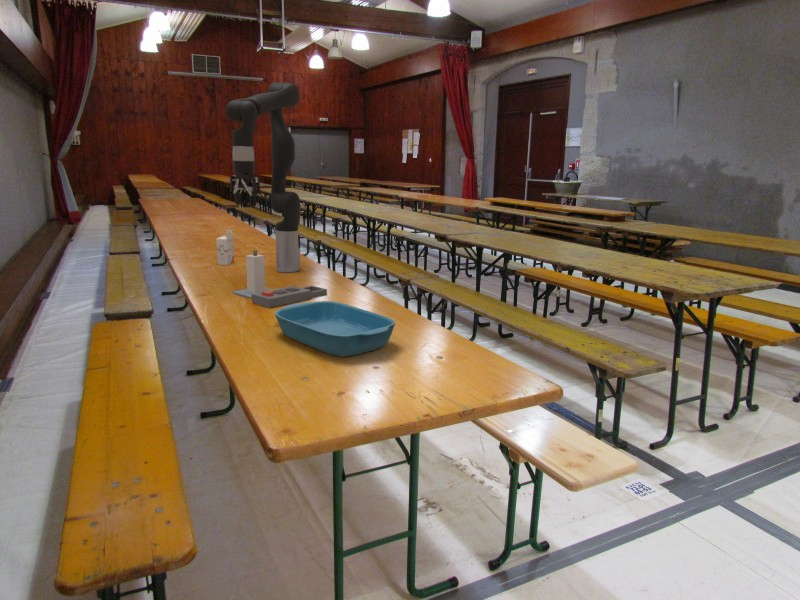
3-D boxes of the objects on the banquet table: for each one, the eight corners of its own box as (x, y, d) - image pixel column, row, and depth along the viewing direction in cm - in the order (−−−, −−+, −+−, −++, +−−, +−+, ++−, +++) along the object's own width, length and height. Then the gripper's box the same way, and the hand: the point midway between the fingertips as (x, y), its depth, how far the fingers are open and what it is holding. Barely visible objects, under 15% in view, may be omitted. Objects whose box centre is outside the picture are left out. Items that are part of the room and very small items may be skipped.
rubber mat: (260, 288, 209) (259, 286, 209) (281, 293, 202) (280, 292, 202) (232, 293, 200) (232, 291, 200) (253, 299, 193) (253, 297, 192)
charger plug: (257, 289, 204) (256, 248, 200) (265, 291, 201) (264, 250, 197) (247, 291, 200) (246, 249, 197) (255, 293, 198) (253, 251, 194)
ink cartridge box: (223, 261, 256) (221, 229, 252) (234, 261, 256) (233, 229, 252) (217, 265, 248) (215, 231, 244) (228, 265, 248) (226, 232, 244)
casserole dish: (261, 332, 159) (260, 307, 157) (324, 318, 175) (324, 295, 173) (345, 369, 134) (345, 340, 132) (410, 349, 150) (411, 323, 148)
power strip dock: (310, 290, 208) (310, 279, 207) (328, 294, 202) (328, 284, 201) (251, 302, 188) (251, 291, 187) (269, 308, 183) (269, 296, 182)
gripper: (265, 160, 201) (266, 206, 205) (239, 158, 209) (241, 203, 213) (247, 160, 195) (249, 207, 199) (222, 158, 203) (225, 204, 208)
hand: (245, 205), depth 206 cm, fingers open, 8 cm apart
